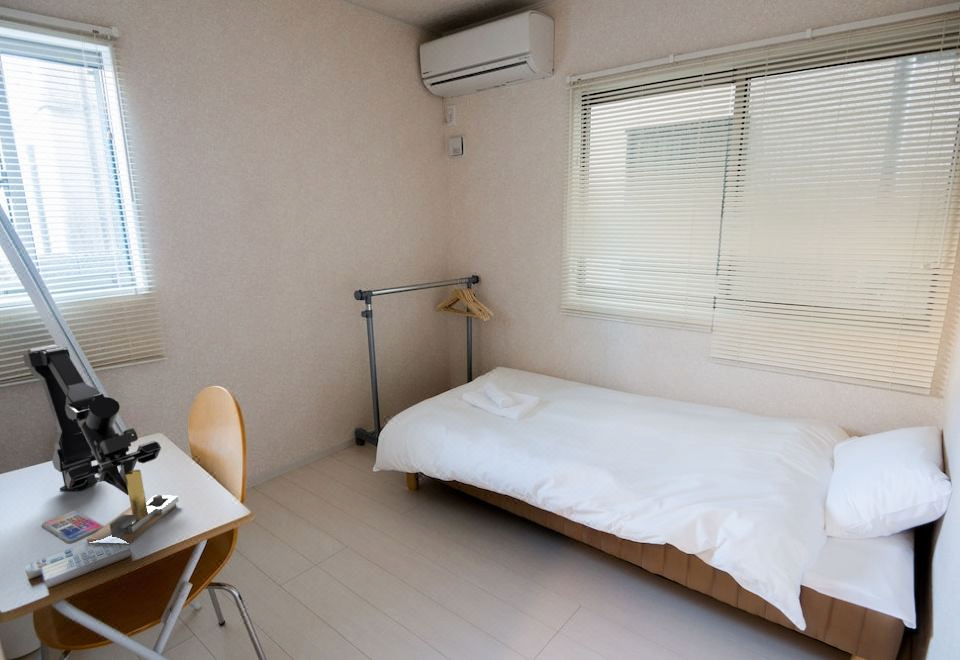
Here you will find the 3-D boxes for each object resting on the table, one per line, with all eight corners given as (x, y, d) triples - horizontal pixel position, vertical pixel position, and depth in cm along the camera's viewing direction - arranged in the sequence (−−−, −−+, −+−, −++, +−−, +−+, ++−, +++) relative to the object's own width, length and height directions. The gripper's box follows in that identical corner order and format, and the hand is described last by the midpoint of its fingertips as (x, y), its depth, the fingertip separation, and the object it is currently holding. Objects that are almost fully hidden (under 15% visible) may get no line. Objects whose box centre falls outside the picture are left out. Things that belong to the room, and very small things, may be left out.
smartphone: (75, 509, 130) (105, 525, 122) (76, 512, 130) (106, 529, 123) (39, 523, 124) (68, 541, 116) (40, 527, 124) (69, 545, 116)
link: (156, 500, 131) (148, 454, 129) (178, 501, 131) (171, 455, 128) (115, 532, 118) (105, 482, 116) (140, 533, 118) (130, 482, 115)
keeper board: (87, 543, 117) (83, 525, 116) (138, 504, 132) (136, 489, 131) (129, 544, 116) (126, 527, 115) (176, 505, 131) (173, 489, 130)
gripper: (59, 435, 114) (88, 496, 110) (151, 409, 129) (179, 461, 125) (53, 460, 120) (80, 518, 116) (142, 432, 135) (169, 483, 131)
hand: (130, 493), depth 122 cm, fingers closed
